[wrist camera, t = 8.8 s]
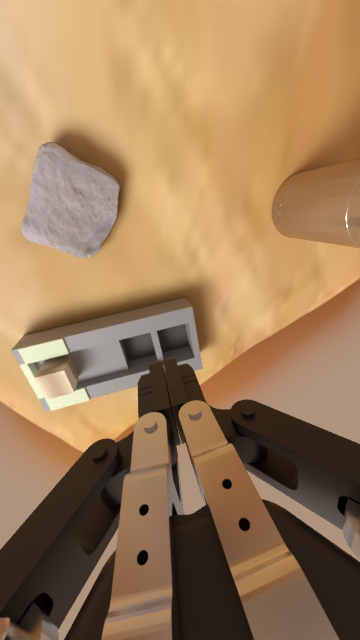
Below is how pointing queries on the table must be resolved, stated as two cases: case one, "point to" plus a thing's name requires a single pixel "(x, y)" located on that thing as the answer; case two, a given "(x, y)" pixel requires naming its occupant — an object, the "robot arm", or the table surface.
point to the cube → (57, 377)
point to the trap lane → (113, 349)
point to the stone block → (69, 203)
